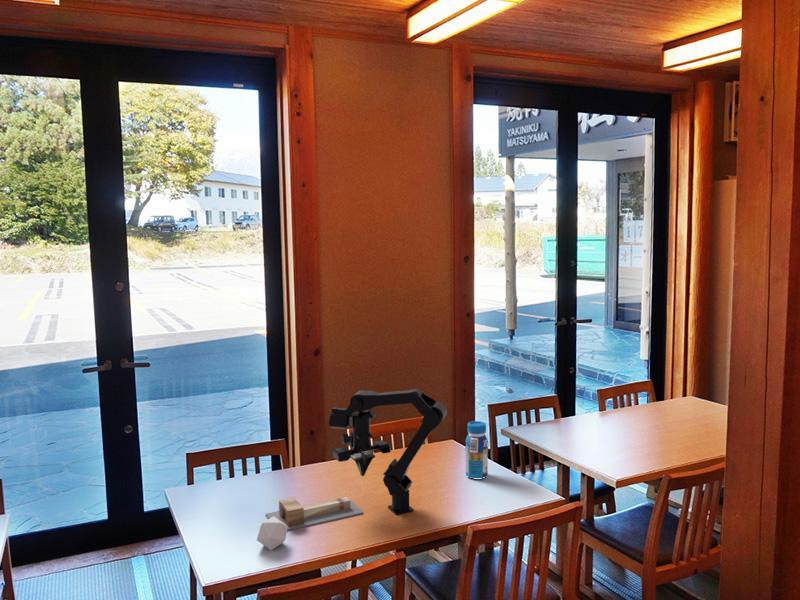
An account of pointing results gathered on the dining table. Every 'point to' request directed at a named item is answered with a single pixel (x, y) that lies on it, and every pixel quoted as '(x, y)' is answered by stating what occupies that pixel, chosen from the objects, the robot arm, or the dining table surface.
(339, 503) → the pale wooden bar
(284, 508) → the tan block
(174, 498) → the dining table surface
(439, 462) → the dining table surface
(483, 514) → the dining table surface
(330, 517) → the felt mat
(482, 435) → the beverage bottle
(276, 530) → the die
